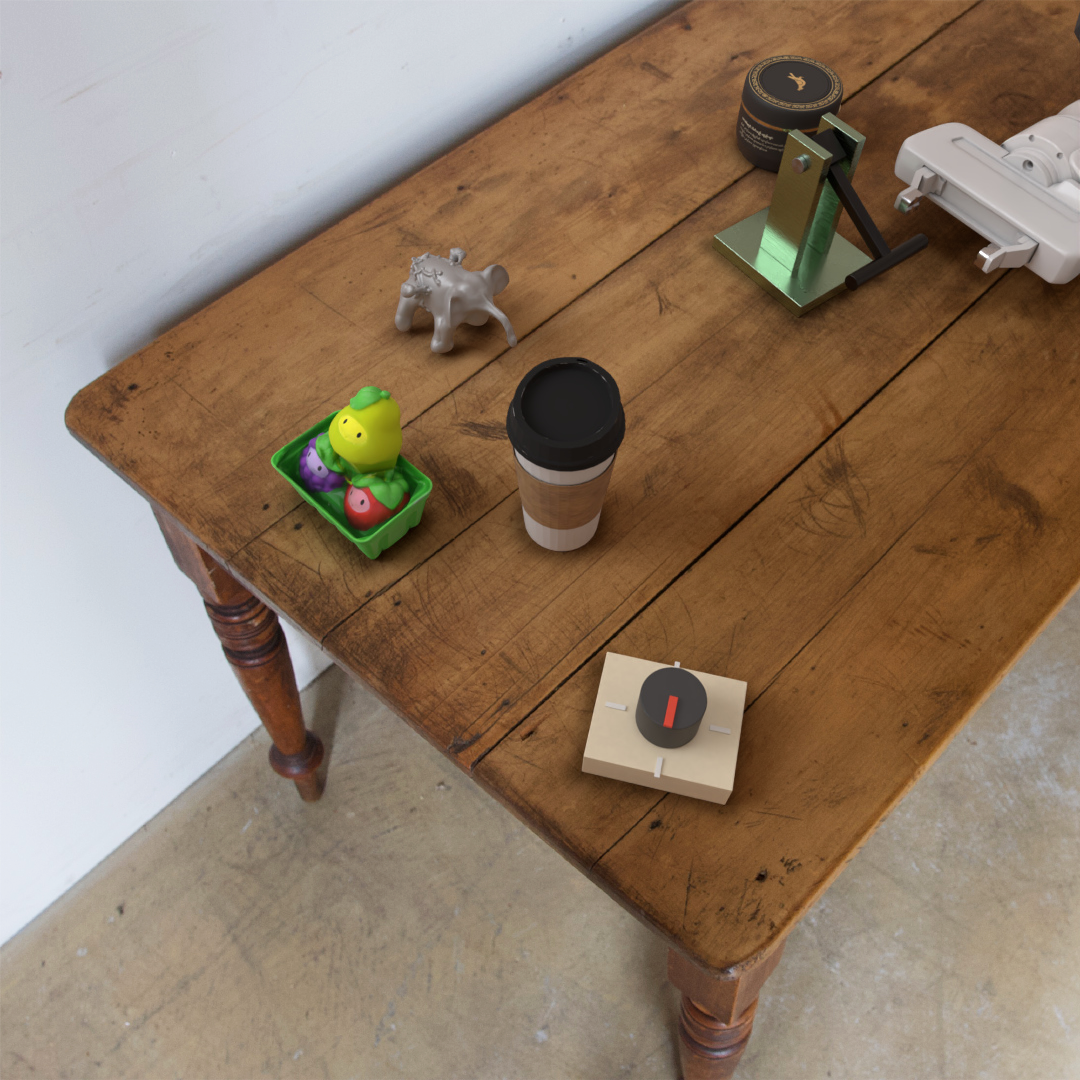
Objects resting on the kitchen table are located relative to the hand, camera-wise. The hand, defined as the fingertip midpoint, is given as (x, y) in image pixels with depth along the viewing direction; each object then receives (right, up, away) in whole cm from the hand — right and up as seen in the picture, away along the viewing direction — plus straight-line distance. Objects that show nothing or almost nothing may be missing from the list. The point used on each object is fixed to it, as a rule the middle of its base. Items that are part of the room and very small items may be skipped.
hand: (940, 233), depth 89 cm
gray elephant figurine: (-43, -9, +2) cm, 44 cm away
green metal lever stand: (-11, 0, +7) cm, 14 cm away
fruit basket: (-50, -25, -8) cm, 56 cm away
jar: (-10, +14, +17) cm, 24 cm away
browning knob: (-27, -40, -21) cm, 53 cm away
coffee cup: (-34, -26, -9) cm, 44 cm away
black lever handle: (-9, +2, -1) cm, 9 cm away
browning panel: (-27, -41, -19) cm, 53 cm away
